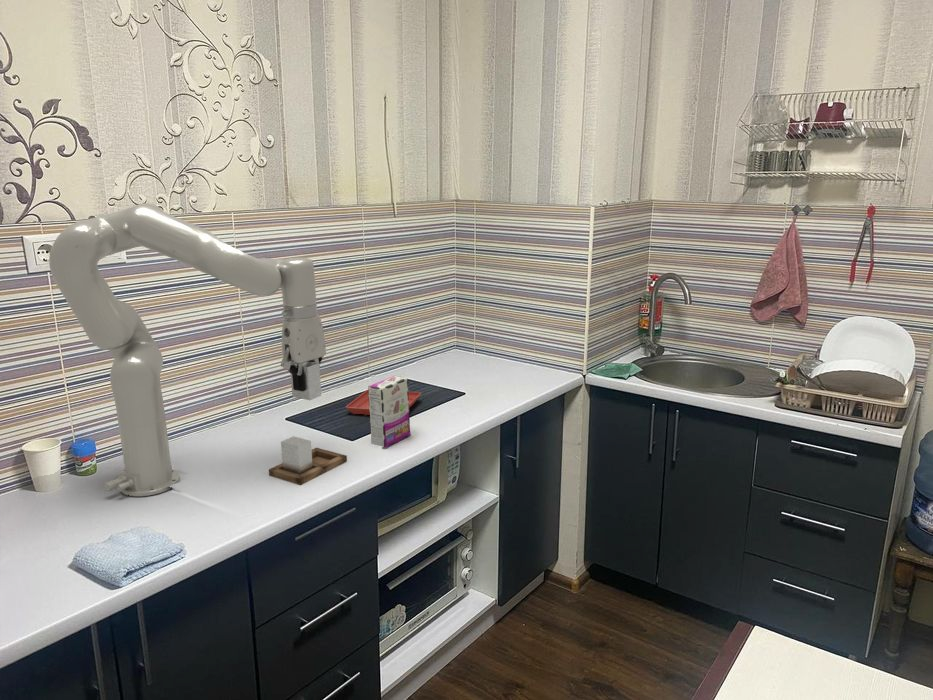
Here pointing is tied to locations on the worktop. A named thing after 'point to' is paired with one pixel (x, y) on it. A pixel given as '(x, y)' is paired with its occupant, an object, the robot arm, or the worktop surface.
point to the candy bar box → (389, 411)
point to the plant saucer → (362, 403)
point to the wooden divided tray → (321, 465)
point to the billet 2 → (296, 455)
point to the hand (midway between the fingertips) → (306, 386)
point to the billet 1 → (309, 381)
